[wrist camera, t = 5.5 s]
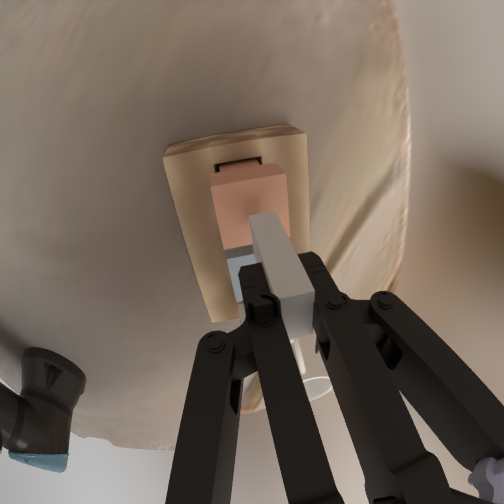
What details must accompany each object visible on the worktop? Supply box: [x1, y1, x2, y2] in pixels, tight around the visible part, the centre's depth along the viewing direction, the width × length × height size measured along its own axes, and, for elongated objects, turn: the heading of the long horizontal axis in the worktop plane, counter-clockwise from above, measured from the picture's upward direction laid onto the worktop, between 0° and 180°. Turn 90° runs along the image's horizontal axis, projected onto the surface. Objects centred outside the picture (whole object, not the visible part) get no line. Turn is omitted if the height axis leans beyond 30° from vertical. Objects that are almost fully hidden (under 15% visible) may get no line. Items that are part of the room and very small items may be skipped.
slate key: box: [225, 244, 256, 302], centre depth 26 cm, size 5×5×7 cm
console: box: [162, 124, 310, 323], centre depth 29 cm, size 12×20×5 cm, turn 7°
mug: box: [291, 329, 332, 401], centre depth 37 cm, size 12×8×12 cm
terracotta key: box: [209, 158, 290, 250], centre depth 21 cm, size 5×5×7 cm
